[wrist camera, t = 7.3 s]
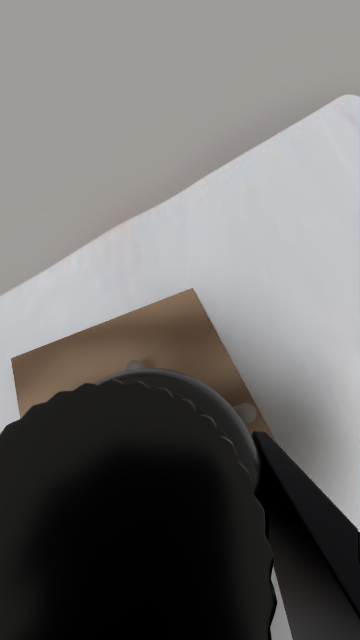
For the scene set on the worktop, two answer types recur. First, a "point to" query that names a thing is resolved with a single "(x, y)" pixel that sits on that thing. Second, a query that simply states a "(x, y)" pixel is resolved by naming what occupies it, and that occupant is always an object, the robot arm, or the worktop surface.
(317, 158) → the worktop surface
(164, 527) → the supplement bottle
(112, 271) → the worktop surface
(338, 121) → the worktop surface
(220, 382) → the plate
